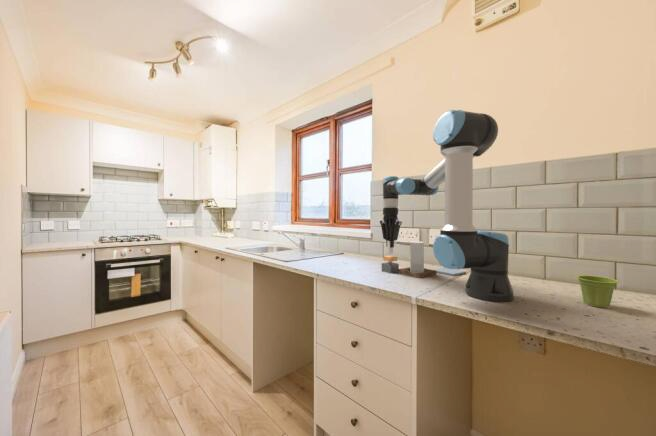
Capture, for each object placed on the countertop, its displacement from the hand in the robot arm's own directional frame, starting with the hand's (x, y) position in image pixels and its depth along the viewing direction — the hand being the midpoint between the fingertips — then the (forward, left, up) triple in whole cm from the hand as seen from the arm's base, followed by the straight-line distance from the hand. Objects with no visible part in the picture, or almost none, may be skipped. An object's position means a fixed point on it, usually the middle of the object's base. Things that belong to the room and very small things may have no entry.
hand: (390, 253), depth 139 cm
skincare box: (-11, -7, -9) cm, 16 cm away
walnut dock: (-11, -7, -9) cm, 16 cm away
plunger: (0, 0, -8) cm, 8 cm away
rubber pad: (-19, -22, -9) cm, 31 cm away
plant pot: (-73, -17, -9) cm, 76 cm away
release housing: (0, 0, -9) cm, 9 cm away
